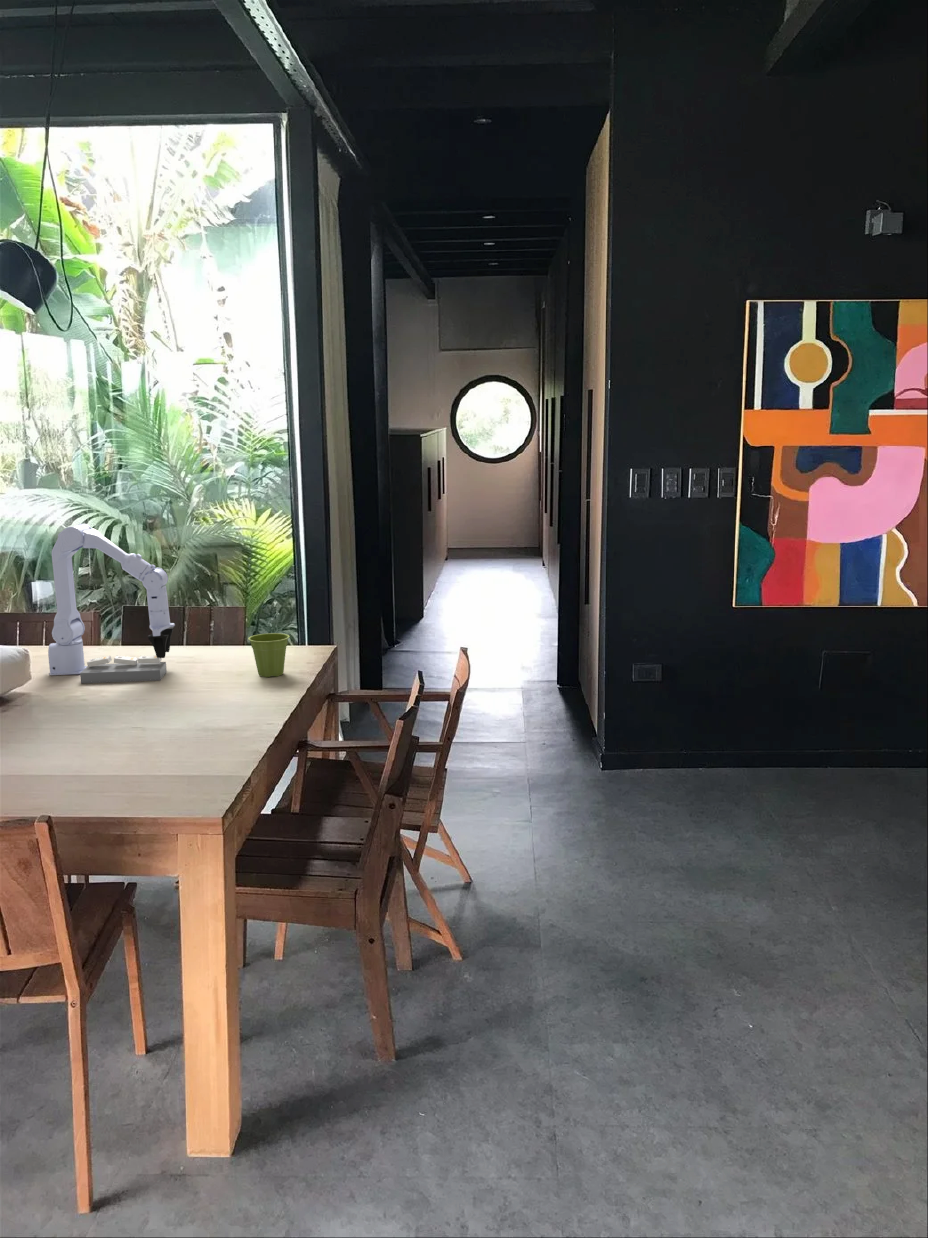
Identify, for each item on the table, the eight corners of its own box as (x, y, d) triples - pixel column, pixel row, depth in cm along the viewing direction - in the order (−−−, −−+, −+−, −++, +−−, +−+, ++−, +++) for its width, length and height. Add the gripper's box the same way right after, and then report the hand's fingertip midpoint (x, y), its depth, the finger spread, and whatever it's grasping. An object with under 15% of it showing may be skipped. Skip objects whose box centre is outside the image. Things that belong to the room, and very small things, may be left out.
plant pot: (295, 669, 290) (294, 632, 288) (284, 680, 278) (283, 641, 276) (257, 669, 291) (255, 632, 289) (244, 679, 280) (242, 641, 277)
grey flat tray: (81, 683, 276) (80, 672, 276) (89, 674, 286) (88, 664, 285) (160, 680, 279) (159, 669, 278) (166, 671, 289) (165, 661, 288)
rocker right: (138, 663, 282) (137, 658, 282) (140, 660, 286) (140, 655, 286) (159, 663, 283) (159, 658, 283) (161, 660, 287) (161, 655, 286)
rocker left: (87, 667, 281) (86, 662, 281) (90, 664, 284) (89, 659, 284) (108, 663, 281) (107, 658, 281) (111, 660, 285) (110, 655, 284)
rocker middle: (113, 662, 282) (114, 658, 281) (116, 660, 285) (116, 655, 285) (135, 665, 282) (135, 660, 282) (137, 662, 286) (137, 657, 286)
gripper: (168, 613, 279) (173, 659, 282) (176, 604, 293) (181, 648, 296) (143, 615, 278) (148, 661, 281) (152, 606, 292) (157, 650, 295)
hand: (163, 654), depth 288 cm, fingers open, 7 cm apart
